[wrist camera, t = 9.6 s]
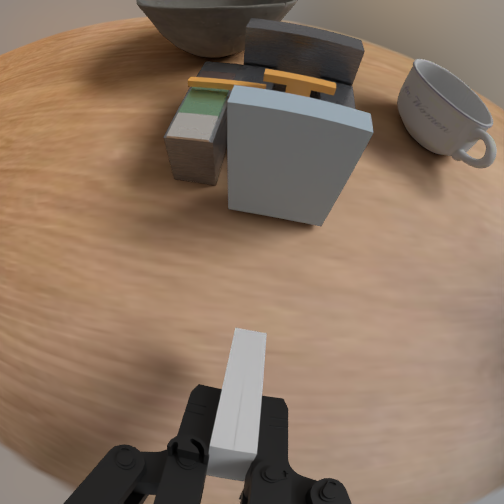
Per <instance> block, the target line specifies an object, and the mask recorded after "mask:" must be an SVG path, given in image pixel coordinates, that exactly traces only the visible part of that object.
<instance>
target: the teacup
mask: <svg viewBox="0 0 504 504" xmlns="http://www.w3.org/2000/svg"><path fill="white" fill-rule="evenodd" d="M397 104H398V111H399V113H400V116H401V118H402V120H403V123H404V125H405V127H406V129H407V131H408V132H409V133H410V135H411V136H412V137H413V138H414V139H415V140H416V141H417V142H418V143H419V144H420V145H422V146H423V147H424V148H426V149H428V150H429V151H431V152H434V153H436V154H440V155H447V156H452V158H453V159H454V160H457V161H461V160H462V161H463V162H465V163H466V164H468V165H470V166H472V167H475V168H486V167H489V166H490V165H491V164H492V163H493V161H494V160H495V157H496V144H495V142H494V140H493V138H492V137H491V136H490V135H489V134H488V133H487V132H486V131H487V129H488V128H490V127H492V125H493V119H492V116H491V114H490V112H489V110H488V108H487V107H486V105H485V104H484V103H483V101H482V100H481V99H480V98H479V97H478V95H477V94H476V93H475V92H474V91H473V90H471V88H470V87H469V86H468V85H466V84H465V83H464V82H463V81H462V80H460V79H459V78H458V77H457V76H455V75H454V74H452V73H451V72H449V71H447V70H446V69H444V68H443V67H441V66H439V65H437V64H435V63H433V62H431V61H427V60H424V59H416V60H415V61H414V62H413V67H412V69H411V71H410V72H409V74H408V76H407V78H406V80H405V82H404V84H403V86H402V88H401V90H400V93H399V96H398V102H397ZM480 139H482V140H483V141H484V143H485V145H486V152H485V155H484V157H483V158H481V159H475V158H472V157H471V156H469V155H468V154H467V153H466V152H467V151H468V150H469V149H470V148H471V147H472V146H473V145H474V144H475V143H476V142H477V141H478V140H480Z"/></svg>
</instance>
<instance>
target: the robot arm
mask: <svg viewBox="0 0 504 504" xmlns="http://www.w3.org/2000/svg"><path fill="white" fill-rule="evenodd" d="M266 334H267V333H262V332H256V331H251V330H245V329H240V328H235V332H234V337H233V341H232V346H231V351H230V355H229V360H228V364H227V369H226V373H225V378H224V383H223V387H222V389H218V388H213V387H209V386H204V385H200V384H199V385H198V386H197V387H196V388H195V389H194V390H193V391H192V392H191V394H190V397H189V400H188V404H187V406H186V410H185V413H184V416H183V419H182V422H181V425H180V428H179V432H178V435H177V436H176V437H174V438H173V439H171V440H170V442H169V443H168V445H167V450H164V451H161V452H140V451H139V450H138V449H136V448H135V447H132V446H130V445H118V446H115V447H113V448H112V449H111V450H110V451H109V452H108V453H107V454H106V455H105V456H104V458H103V459H102V460H101V461H100V462H99V463H98V465H97V466H96V467H95V468H94V469H93V470H92V472H91V473H90V474H89V475H88V476H87V477H86V479H85V480H84V481H83V482H82V483H81V484H80V485H79V487H78V488H77V489H76V490H75V491H74V492H73V493H72V495H71V496H70V497H69V498H68V499H67V500H66V501H65V503H64V504H143V502H144V501H145V500H146V498H147V497H148V495H156V497H155V501H154V504H200V503H201V498H202V493H203V489H204V483H205V478H206V475H209V476H215V477H220V478H226V479H232V480H239V481H244V480H245V484H244V489H243V491H242V493H241V495H240V497H239V499H241V502H240V504H351V501H350V499H349V496H348V493H347V491H346V489H345V487H344V485H343V484H342V483H341V482H339V481H338V480H335V479H332V478H324V479H321V480H319V481H316V480H313V479H310V478H307V477H304V476H301V475H299V474H297V473H296V472H295V471H294V470H293V469H292V468H291V467H290V465H289V462H288V407H287V405H286V403H285V401H284V399H282V398H274V397H267V396H262V388H263V375H264V362H265V348H266Z"/></svg>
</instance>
